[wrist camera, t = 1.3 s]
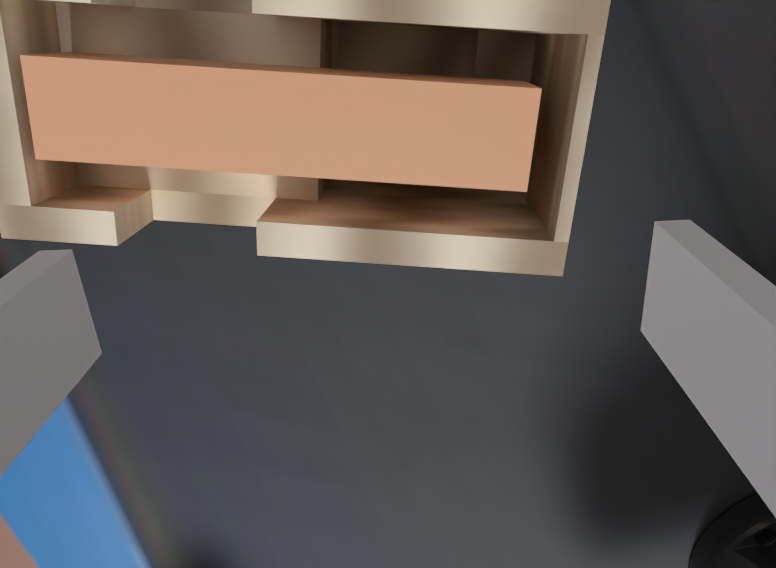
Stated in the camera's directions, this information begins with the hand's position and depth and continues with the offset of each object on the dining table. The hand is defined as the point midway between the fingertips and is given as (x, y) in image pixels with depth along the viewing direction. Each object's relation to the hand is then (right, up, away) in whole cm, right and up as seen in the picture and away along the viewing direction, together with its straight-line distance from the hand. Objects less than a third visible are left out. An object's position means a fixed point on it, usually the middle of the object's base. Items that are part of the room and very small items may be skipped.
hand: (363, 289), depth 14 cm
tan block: (-4, +8, +14) cm, 16 cm away
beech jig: (-3, +11, +21) cm, 24 cm away
